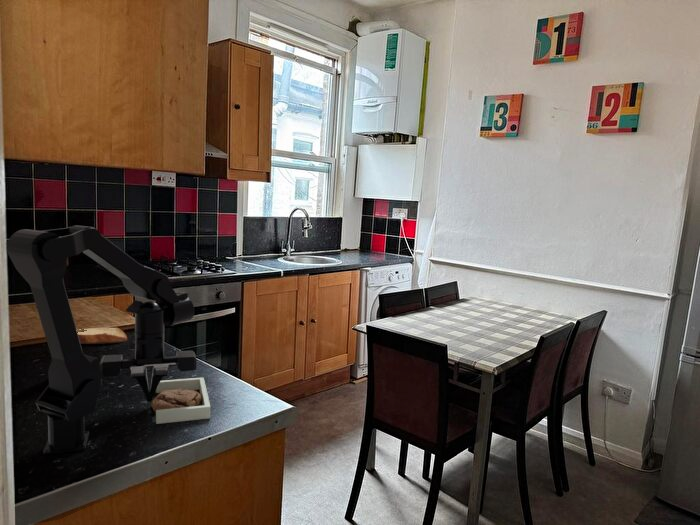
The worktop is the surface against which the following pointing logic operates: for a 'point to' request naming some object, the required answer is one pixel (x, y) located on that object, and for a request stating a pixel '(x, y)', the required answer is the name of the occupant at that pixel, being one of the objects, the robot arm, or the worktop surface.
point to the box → (184, 412)
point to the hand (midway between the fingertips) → (149, 401)
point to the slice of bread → (102, 336)
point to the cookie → (176, 399)
